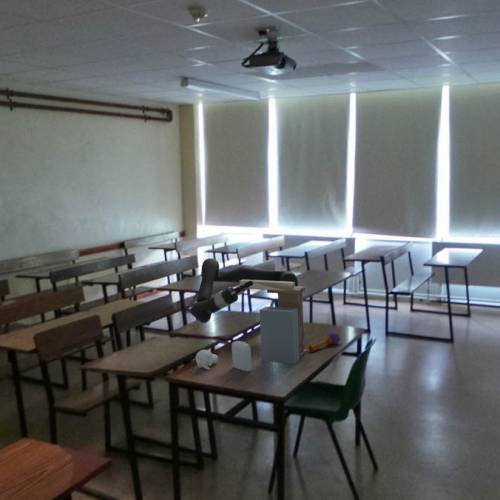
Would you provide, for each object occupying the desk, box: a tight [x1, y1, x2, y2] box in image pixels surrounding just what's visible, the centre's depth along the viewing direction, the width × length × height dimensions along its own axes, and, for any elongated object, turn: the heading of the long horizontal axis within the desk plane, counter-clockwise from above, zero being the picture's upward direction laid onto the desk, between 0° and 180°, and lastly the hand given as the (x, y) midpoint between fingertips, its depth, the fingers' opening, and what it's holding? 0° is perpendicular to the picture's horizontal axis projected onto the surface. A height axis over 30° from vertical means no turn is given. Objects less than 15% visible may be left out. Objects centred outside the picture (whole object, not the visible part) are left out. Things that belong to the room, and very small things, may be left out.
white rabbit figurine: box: [195, 349, 219, 371], centre depth 253 cm, size 6×8×12 cm
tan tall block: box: [266, 285, 308, 359], centre depth 265 cm, size 8×16×32 cm, turn 65°
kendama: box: [307, 331, 341, 353], centre depth 274 cm, size 6×6×20 cm
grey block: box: [259, 306, 301, 365], centre depth 256 cm, size 7×16×24 cm, turn 65°
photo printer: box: [231, 340, 253, 372], centre depth 248 cm, size 10×4×12 cm, turn 39°
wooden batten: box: [239, 280, 295, 291], centre depth 256 cm, size 4×26×4 cm, turn 65°
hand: (253, 281), depth 258 cm, fingers closed on wooden batten, 3 cm apart
